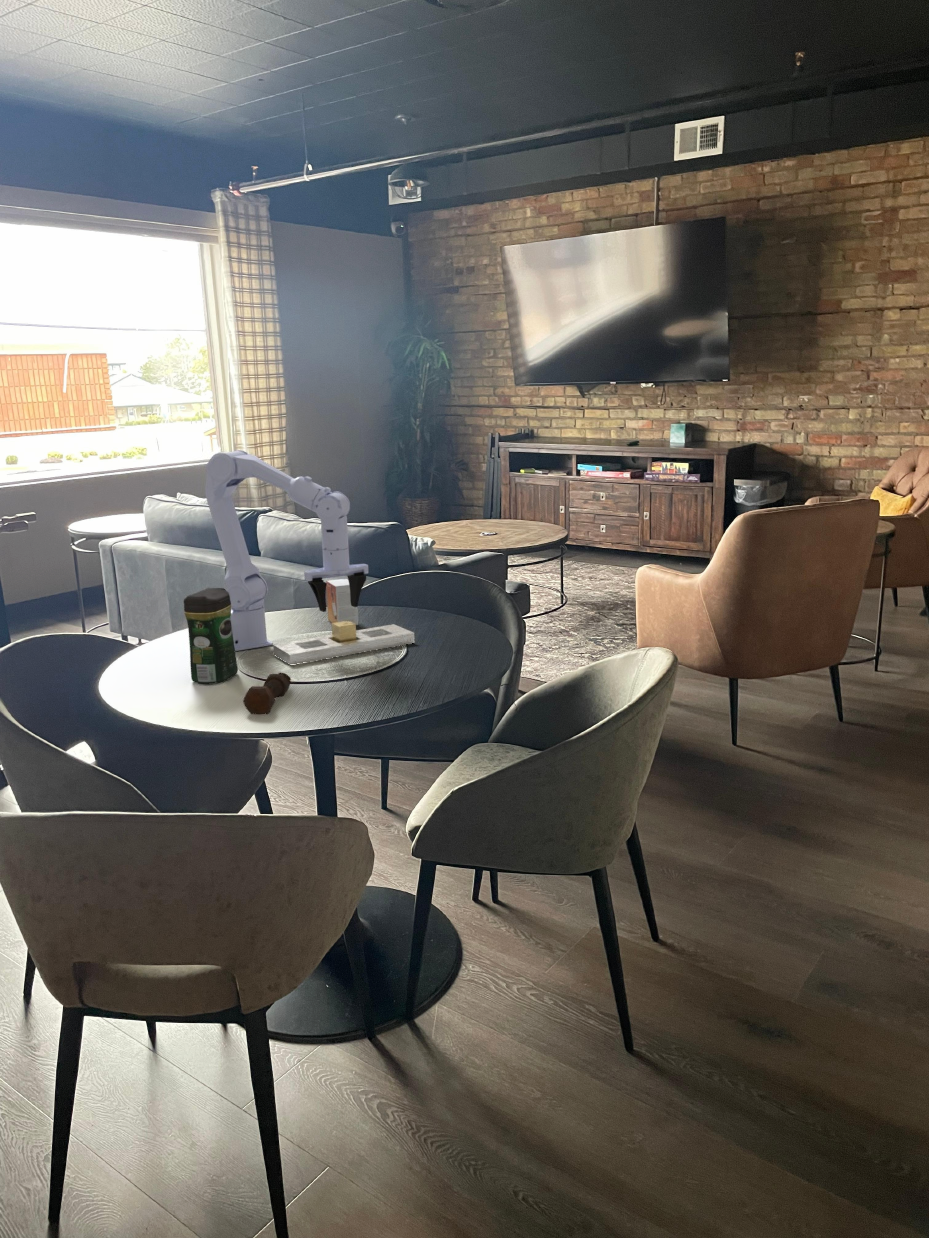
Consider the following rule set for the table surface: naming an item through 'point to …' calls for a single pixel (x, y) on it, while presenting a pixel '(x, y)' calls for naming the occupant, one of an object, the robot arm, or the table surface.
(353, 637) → the block
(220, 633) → the coffee jar
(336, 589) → the small box
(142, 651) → the table surface
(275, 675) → the bolt
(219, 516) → the robot arm
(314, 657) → the board
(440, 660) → the table surface
